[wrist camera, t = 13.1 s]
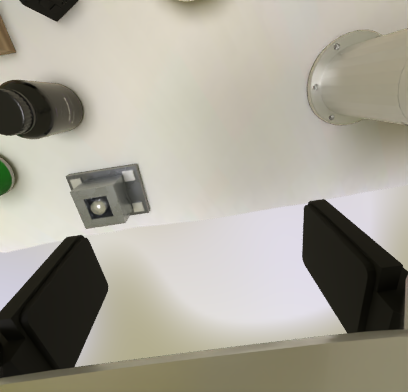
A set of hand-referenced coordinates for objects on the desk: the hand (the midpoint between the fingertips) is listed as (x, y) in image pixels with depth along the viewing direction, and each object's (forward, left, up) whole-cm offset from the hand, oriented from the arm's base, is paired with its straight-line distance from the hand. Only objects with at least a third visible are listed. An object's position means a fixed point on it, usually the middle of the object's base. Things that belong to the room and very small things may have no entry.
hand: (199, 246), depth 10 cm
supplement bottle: (+20, -7, -31) cm, 37 cm away
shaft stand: (+17, +8, -30) cm, 36 cm away
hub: (+17, +8, -29) cm, 35 cm away
